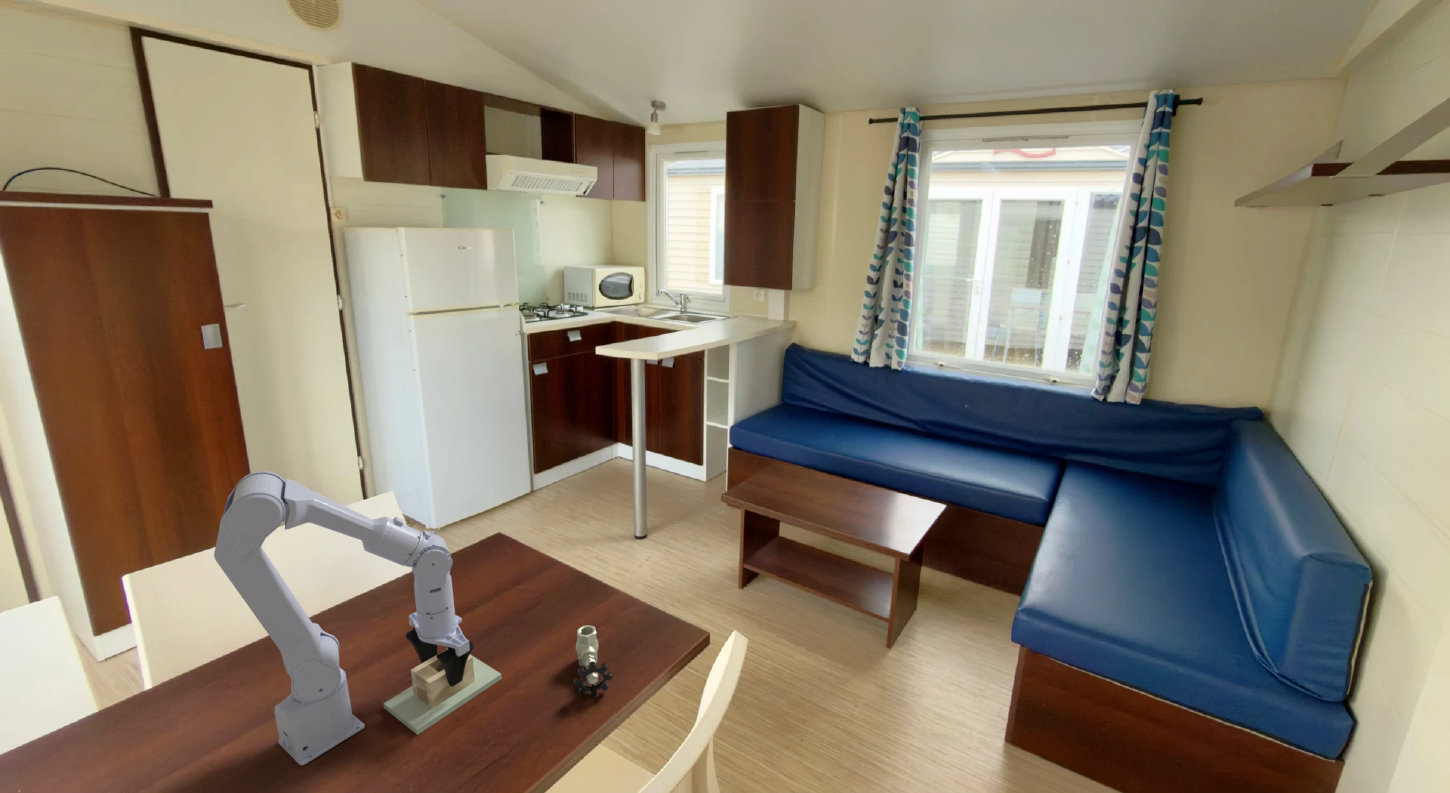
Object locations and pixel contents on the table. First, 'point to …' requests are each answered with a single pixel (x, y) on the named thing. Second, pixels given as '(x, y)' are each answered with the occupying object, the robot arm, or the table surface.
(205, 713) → the table surface
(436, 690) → the collar block
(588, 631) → the valve
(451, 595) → the robot arm
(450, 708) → the pin base
